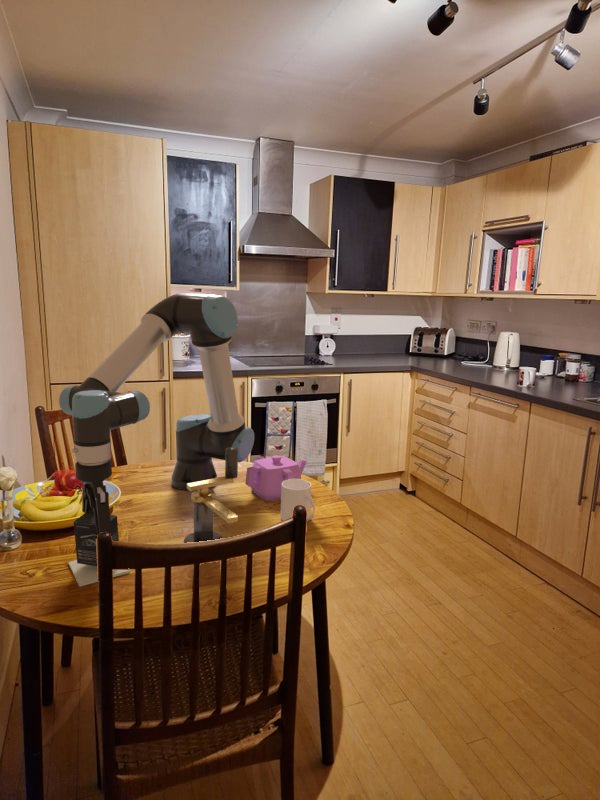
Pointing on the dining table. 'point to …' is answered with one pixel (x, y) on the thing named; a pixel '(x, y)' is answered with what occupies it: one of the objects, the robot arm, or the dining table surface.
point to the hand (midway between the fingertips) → (98, 552)
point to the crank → (209, 496)
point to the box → (90, 537)
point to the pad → (89, 573)
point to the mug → (296, 497)
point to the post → (202, 524)
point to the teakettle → (272, 475)
